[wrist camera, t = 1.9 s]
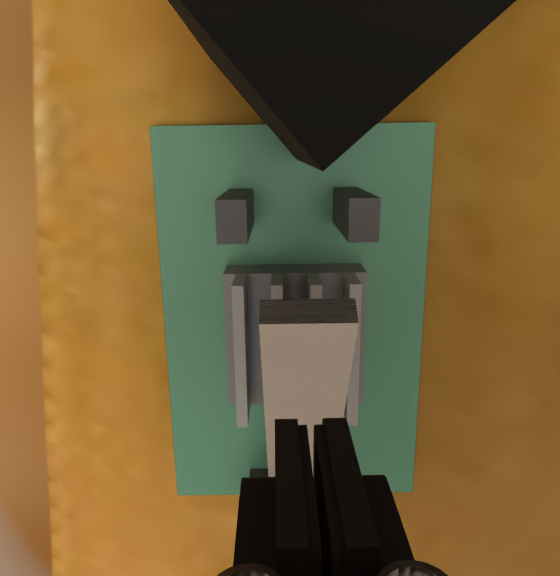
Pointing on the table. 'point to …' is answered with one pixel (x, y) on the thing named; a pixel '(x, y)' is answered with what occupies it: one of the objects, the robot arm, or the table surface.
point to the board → (289, 241)
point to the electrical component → (331, 59)
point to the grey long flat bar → (305, 362)
